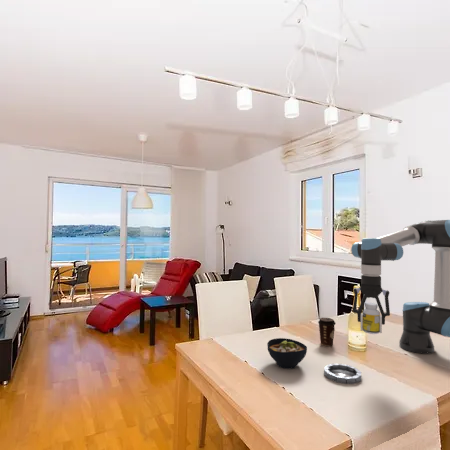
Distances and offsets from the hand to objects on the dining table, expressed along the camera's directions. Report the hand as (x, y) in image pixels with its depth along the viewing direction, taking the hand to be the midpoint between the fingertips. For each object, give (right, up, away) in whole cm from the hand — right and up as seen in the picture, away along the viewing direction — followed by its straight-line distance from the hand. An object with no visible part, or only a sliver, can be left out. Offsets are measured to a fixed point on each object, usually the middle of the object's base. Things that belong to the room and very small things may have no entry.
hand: (371, 330), depth 131 cm
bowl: (-33, -18, +8) cm, 39 cm away
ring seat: (-13, -17, -2) cm, 22 cm away
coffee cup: (-7, -19, +35) cm, 40 cm away
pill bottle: (0, -1, 0) cm, 1 cm away
